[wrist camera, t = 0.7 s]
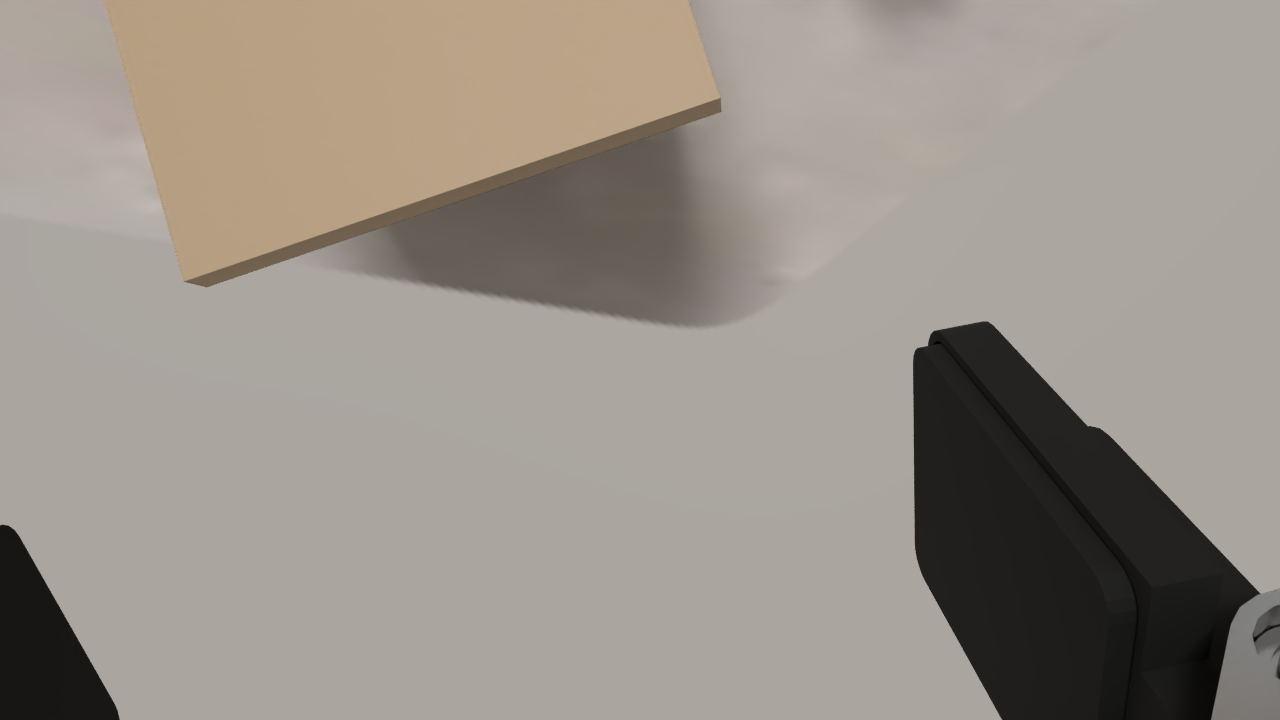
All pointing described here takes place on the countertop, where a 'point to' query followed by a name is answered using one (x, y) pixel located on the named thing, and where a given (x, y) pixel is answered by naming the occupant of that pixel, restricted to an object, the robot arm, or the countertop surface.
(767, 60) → the countertop surface
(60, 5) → the countertop surface
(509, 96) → the box lid
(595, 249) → the countertop surface
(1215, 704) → the robot arm
